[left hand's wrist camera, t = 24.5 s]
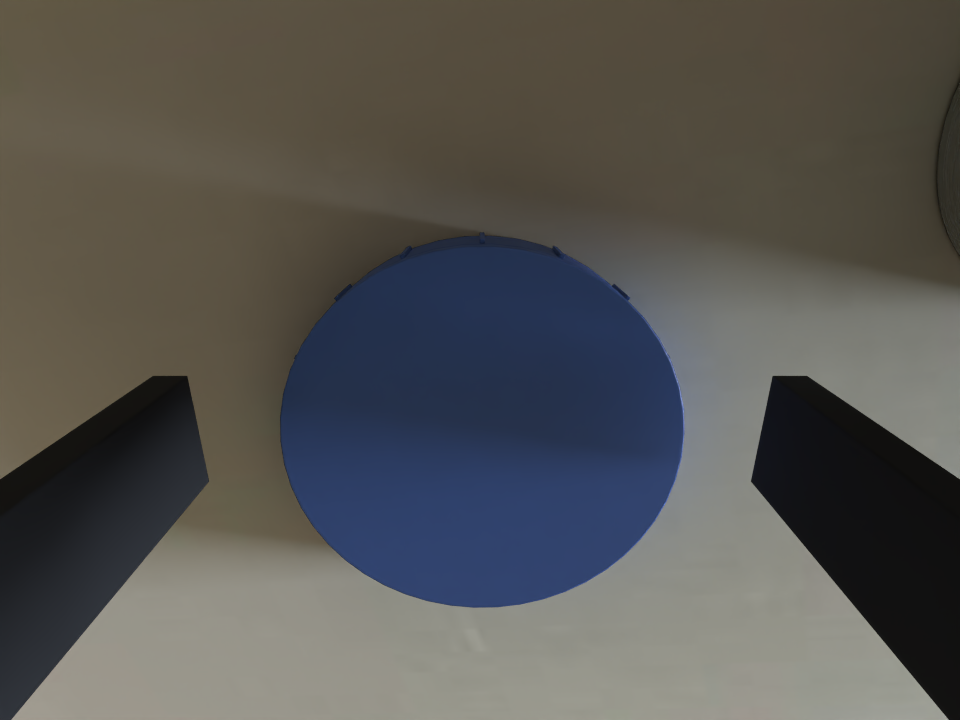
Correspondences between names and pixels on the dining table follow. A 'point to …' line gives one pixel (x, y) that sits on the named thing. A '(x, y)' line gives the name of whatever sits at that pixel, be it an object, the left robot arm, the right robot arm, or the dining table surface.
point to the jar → (950, 171)
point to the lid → (482, 423)
